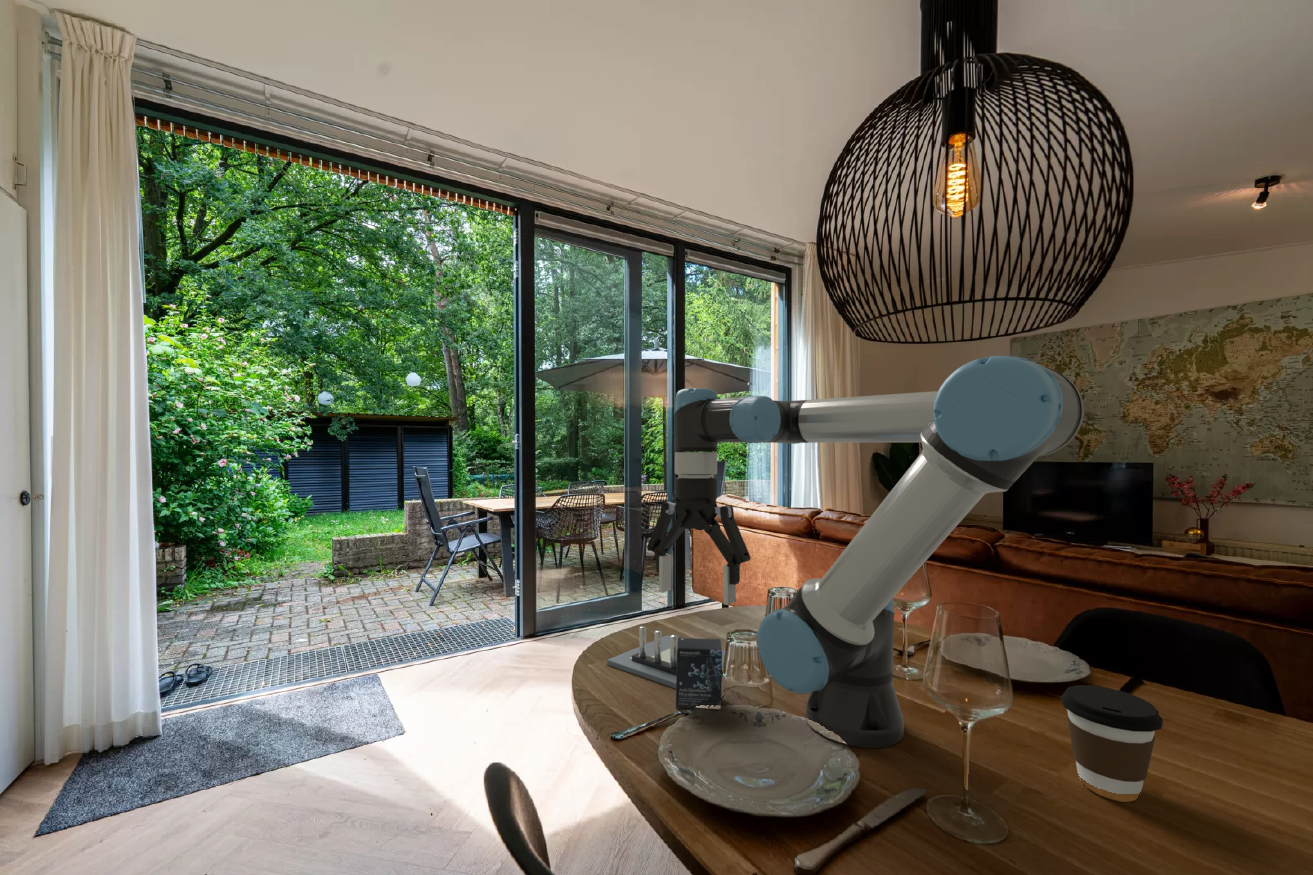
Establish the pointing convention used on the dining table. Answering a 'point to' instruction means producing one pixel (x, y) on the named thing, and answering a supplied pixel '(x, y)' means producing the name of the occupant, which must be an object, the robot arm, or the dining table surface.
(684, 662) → the box
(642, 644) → the header pins
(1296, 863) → the dining table surface
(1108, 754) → the coffee cup
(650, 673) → the slate board
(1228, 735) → the dining table surface
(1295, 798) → the dining table surface
